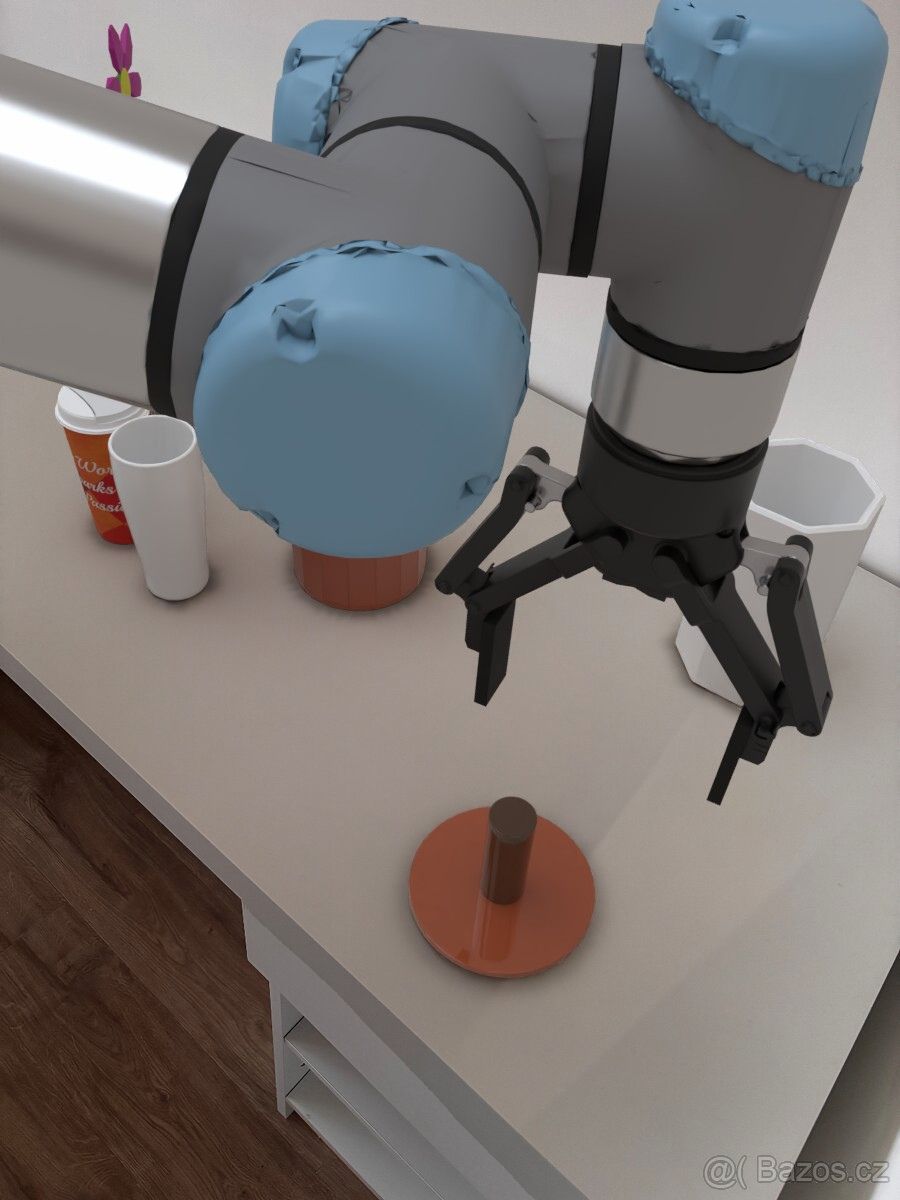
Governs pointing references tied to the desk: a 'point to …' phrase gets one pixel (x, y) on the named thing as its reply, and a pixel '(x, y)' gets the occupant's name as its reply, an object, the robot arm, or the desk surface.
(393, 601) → the jar
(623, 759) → the desk surface
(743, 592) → the cup
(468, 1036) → the desk surface
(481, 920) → the lid
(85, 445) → the paper cup
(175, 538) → the white plastic tumbler
